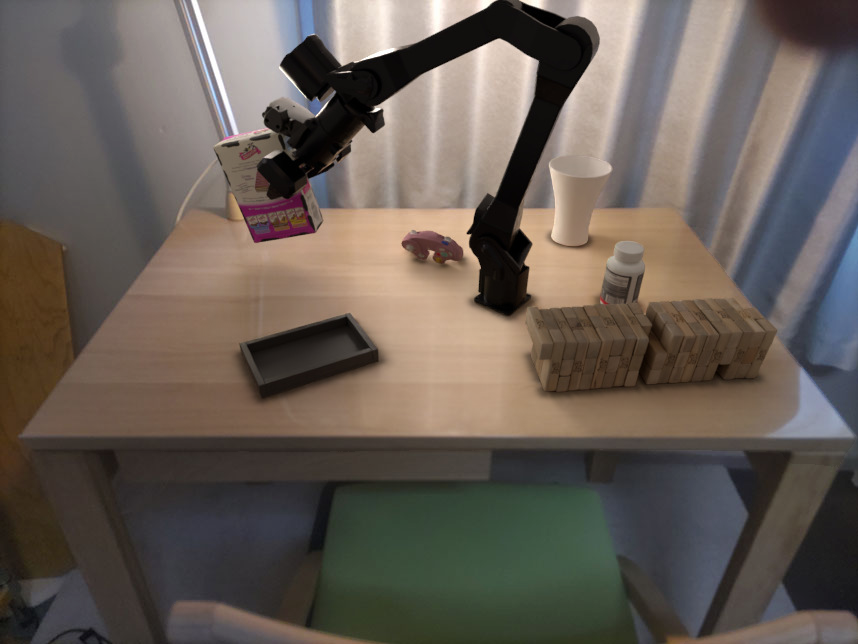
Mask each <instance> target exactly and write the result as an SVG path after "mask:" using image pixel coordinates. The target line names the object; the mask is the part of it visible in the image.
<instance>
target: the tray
mask: <svg viewBox="0 0 858 644" xmlns="http://www.w3.org/2000/svg"><path fill="white" fill-rule="evenodd" d="M238 344H239V349H240V354H241V357H242V359H243V361H244V363H245V365H246V368H247V370H248V372H249V375H250V377H251V379H252V381H253V383H254V385H255V388H256V391H257V393H258V395H259V397H260V398H261V399H264V398H266V397H270V396H272V395H273V396H274V395H277V394H280V393H283V392H286V391H289V390H292V389H295V388H297V387H298V388H299V387H301V386H304V385H307V384H311V383H313V382H314V383H315V382H317V381H320V380H323V379H326V378H329V377H333V376H336V375H338V374H342V373H345V372H348V371H351V370H352V371H353V370H355V369H358V368H362V367H364V366H367V365H370V364H373V363H377V362H379V349H378V347H377V345H376V344H375V343H374V342H373V341H372V339H371V338H370V337H369V335H368V334H367V333H366V331H365V330H364V329H363V327H362V326H361V325H360V324H359V322H358V321H357V319H356V318H355V317H354V315H353V314H352V313H351V312H346V313H344V314H340V315H336V316H333V317H329V318H325V319H322V320H318V321H315V322H310V323H307V324H304V325H301V326H300V325H299V326H296V327H293V328H288V329H285V330H282V331H279V332H275V333H272V334H267V335H264V336H260V337H258V338H254V339H249V340H247V341H243V342H239V343H238Z"/></svg>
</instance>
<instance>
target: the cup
mask: <svg viewBox="0 0 858 644" xmlns="http://www.w3.org/2000/svg"><path fill="white" fill-rule="evenodd" d="M548 168H549V172H550V178H551V183H552V189H553V195H554V221H553V222H554V223H553V226H552V230H551V234H550V237H551V239H552V240H553V241H554V242H555V243H557V244H559V245H562V246H566V247H579V246H583V245H585V244H587V242H588V241H589V230H590V225H591V219H592V215H593V213H594V210H595V207H596V204H597V201H598V199H599V197H600V195H601V192H602V191H603V189H604V187H605V186H606V183H607V182H608V179H609V178H610V176H611V174H612V173H613V171H614V168H613V166H612V164H611V163H609V162H608V161H606V160H605V159H601V158H598V157H594V156H590V155H582V154H567V155H560V156H557V157H554V158H552V159H551V160H550V161H549V162H548Z"/></svg>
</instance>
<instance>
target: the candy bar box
mask: <svg viewBox="0 0 858 644" xmlns="http://www.w3.org/2000/svg"><path fill="white" fill-rule="evenodd" d="M289 139H290V137H287V136H285V135H283V134H282V133H276V132H274V131H272V130H271V129H269V128H267V127H265V128H260V129H256V130H252V131H247V132H243V133H238V134H233V135H230V136H225V137H223V138H222V139H221V140H219V141H218V142H217V143H216V144H215V145H213V146H212V149H213V151H214V153H215V155H216V158H217V161H218V163H219V165H220V167H221V169H222V171H223V173H224V177H225V179H226V181H227V183H228V185H229V188H230V190H231V192H232V195H233V197H234V200H235V202H236V204H237V206H238V208H239V211H240V213H241V215H242V218H243V220H244V223H245V225H246V227H247V229H248V232H249V234H250V236H251V238H252V239H251V240H252V241H253V243H254V244H259V243H266V242H271V241H276V240H282V239H289V238H294V237H301V236H306V235H311V234H316V233H317V232H318V231H319V229H320V227H321V225H322V224H323V222H324V218H323V215H322V212H321V208H320V206H319V203H318V200H317V198H316V195H315V193H314V189H313V186H312V184H311V181H310V179H309V178H308V175H307V173H306V175H307V184H306V185H305V188H304V189H302V190H301V191H300V192H298V193H297V194H296V195H294V196H293V197H292V198H290V199H289V200H288V199H285V198H283V197H280V198H277V199H273V200H270V199H269V198H268V197H267V195H266V194H267V191H268V188H269V185H270V183H269V182H268V181H267V180H266V179H265V178H264V177H263V176H262V175H261V174H260V173H259V172H258V171H257V167H256V166H257V164H258V163H259V162H260V161H261V159H262V158H263V157H265V156H267V155H268V154H270V153H272V152H273V151H275V150H281V151H285V152H286V153H287V155H288V156H289V157H290V158H291V159H292V160H293V161H294V160H295V158H294V157H293V156H292V155H291V153H292V152H293V151H295V150H296V149H295V148H294V149H292V148H291V147H290V146H289V144H288V143H287V141H288V140H289ZM296 159H297V158H296ZM303 166H304V165H303ZM303 166H302V167H303ZM302 167H300V168H302Z"/></svg>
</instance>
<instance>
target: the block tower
mask: <svg viewBox="0 0 858 644" xmlns="http://www.w3.org/2000/svg"><path fill="white" fill-rule="evenodd" d="M524 323H525V326H526V329H527V331H528V334H529V336H530V339H531V342H532V346H531V353H530V359H531V361H532V363H533V366H534V367H535V370H536V373H537V375H538V378H539V381H540V384H541V386H542V389H543V391H545V392H553V391H555V392H556V393H557V392H558V393H559V392H567V391H577V390H590V389H601V388H604V389H605V388H607V389H608V388H612V387H622V386H624V387H634V386H636V384H637V381H638V376H639V373H640V376H641V377H642V379H643V381H644V383H645V384H646V385H657V384H667V383H670V384H677V383H678V384H679V383H689V382H691V383H692V382H693V383H695V382H701V381H712V380H713V379H714V376H715V374H716V372H717V373H718V375H719V376H720V378H722V380H733V379H744V378H745V379H755V378H757V376H758V374H759V371H760V369H761V367H762V365H763V363H764V360H765V358H766V356H767V354H768V352H769V350H770V348H771V346H772V343H773V341H774V340H775V337H776V335H777V333H778V329H777V328H776V327H775V325H774V324H773V323H771V322H770V321H769V319H767V318H765V316H764V315H763V314H762V313H761V312H760V311H759V310H758V309H757V308H756V307H743V306H742V305H741V304H740V303H739V302H738V301H737V300H736V299H735V298H734V297H732V296H731V297H724V298H711V297H710V298H707V297H706V298H702V299H701V298H696V299H692V300H691V299H681V300H671V301H669V300H661V301H649V302H648V305H647V308H646V311H645V312H644V310H643V309H642V308H641V306H640V305H639V303H638V302H637V303H627V304H616V305H615V304H606V305H604V304H600V303H597V304H593V305H592V304H590V305H582V306H571V307H570V306H562V307H549V308H539V307H538V306H527V308H526V314H525V321H524Z"/></svg>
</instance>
